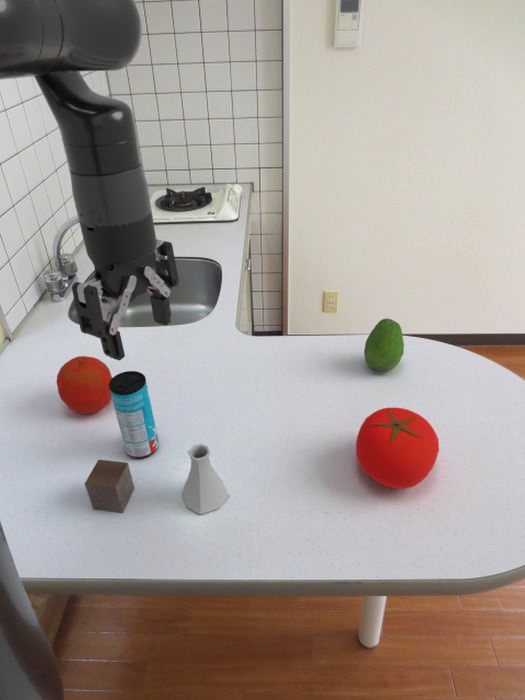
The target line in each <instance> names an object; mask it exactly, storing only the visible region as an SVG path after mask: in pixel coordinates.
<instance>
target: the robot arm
mask: <svg viewBox="0 0 525 700" xmlns="http://www.w3.org/2000/svg"><path fill="white" fill-rule="evenodd" d="M142 27H143V26H142V19H141V15H140V11H139V9H138V7H137V4H136V2H135V0H0V81H1V80H12V79H13V80H14V79H21V78H22V79H23V78H31V77H32V78H34V79H35V81H36V83H37V85H38V87H39V89H40V91H41V93H42V95H43V97H44V99H45V101H46V103H47V105H48V107H49V110H50V111H51V114H52V115H53V117H54V119H55V121H56V124H57V126H58V128H59V131H60V136H61V141H62V144H63V148H64V153H65V157H66V160H67V161H66V162H67V165H68V169H69V174H70V183H71V191H72V197H73V202H74V206H75V209H76V210H75V211H76V215H77V219H78V222H79V226H80V231H81V234H82V239H83V242H84V247H85V251H86V254H87V257H88V258H89V259H90V261H91V263H92V265H93V268H94V274H93V278H92V279H89V280H87V281H85V282H80V281H75V282H74V283H73V284H72V286H71V291H72V295H73V296H72V297H73V300H74V306H75V311H76V314H77V315H76V316H77V319H78V324H79V329H80V332H81V333H83V334H85V335H90V336H92V337H95V338H97V339H99V341H100V343H101V348H102V351H103V354H104V355H105V356H106V357H109V358H111V359H113V360H116V361H122V360H123V359H124V358H125V357H126V353H125V349H124V344H123V340H122V335H121V332H120V331H119V330H118V329H119V326H120V323H121V319H122V317H123V316H125V315H126V314H127V311H128V307H129V304H130V303H132V302H134V301H135V299H136V298H137V297H138V296H142V295H144V294H145V293H147V292H148V293H150V294H152V295H150V296H149V301H150V305H151V311H152V317H153V320H154V322H155V323H156V324H159V325H163V326H167V325H169V324H171V321H172V320H171V316H172V310H171V305H170V298H169V297H170V296H171V294H172V293H171V291H172V288H173V287H174V288H176V287H178V285H179V283H180V279H179V274H178V269H177V262H176V258H175V252H174V247H173V243H172V242H170V241H166V240H161V239H157V236H156V228H155V223H154V217H153V210H152V205H151V198H150V192H149V186H148V181H147V178H146V176H145V175H146V174H145V172H144V168H143V163H142V157H141V151H140V146H139V140H138V134H137V126H136V121H135V117H134V113H133V110H132V108H131V107H130V105H129V104H128V103H126V102H125V101H123V100H119V99H117V98H113V97H109V96H105V95H102V94H99V93H98V92H95V91H93V90H92V89H91V88H90V87H89V85H88V83H87V82H86V80H85V79H84V78H83V75H82V74H81V72H114V71H115V72H116V71H120V70H123V69H124V68H126V67H128V66H129V65H130V64H131V63H132V61H134V59H135V58H136V56H137V54H138V52H139V50H140V48H141V47H140V46H141V43H142V34H143V33H142V32H143V28H142ZM110 298H111V299H112V300H113V301H117V302H116V304H115V305H113V304H110V302H109V299H110ZM109 313H110V317H109V319H108V321H107V318H108V316H109ZM0 700H65V692H64V685H63V678H62V674H61V670H60V666H59V662H58V660H57V657H56V655H55V651H54V650H53V647H52V645H51V643H50V641H49V638H48V637H47V634H46V632H45V630H44V627H43V626H42V624H41V622H40V620H39V617H38V616H37V614H36V612H35V609H34V607H33V605H32V602H31V600H30V598H29V597H28V594H27V592H26V589H25V587H24V585H23V583H22V580H21V576H20V575H19V572H18V568H17V566H16V564H15V560H14V557H13V555H12V552H11V548H10V546H9V543H8V539H7V536H6V534H5V531H4V527H3V525H2V522H1V520H0Z"/></svg>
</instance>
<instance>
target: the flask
mask: <svg viewBox="0 0 525 700" xmlns="http://www.w3.org/2000/svg"><path fill="white" fill-rule="evenodd" d="M187 453H188V456H189V458H190V461H191V462H190V469H189V473H188V476H187V478H186V481H185V484H184V486H183V489H182V492H181V496H182V498H183V501H184V505H185V507H186V508H188V509H189V510H191V511H193V512H195V513H196V514H199V515H203V514H206V513H210V512H213V511H216V510H219V509H220V507H222V505H223V504H224V503H225V501H226V500H227V499H228V498H229V497H230V495H229V493H228V490H227V487H226V486H225V483H224V481H223V480H222V479H221V477H220V475H218V472H216V470H215V469H214V468H213V466H212V464H211V462H210V456H211V451H210V448H209V446H208V445H205V444H203V443H199V444H195V445H192V447H190V448H189V449H188V451H187Z"/></svg>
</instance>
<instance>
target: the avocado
mask: <svg viewBox="0 0 525 700" xmlns="http://www.w3.org/2000/svg"><path fill="white" fill-rule="evenodd" d="M404 350H405V343H404V337H403V331H402V327H401V325H400V324H399V322H397V321H395V320H393V319H391V318H389V317H388V318H382V319H381V320H379V321H378V322H377V324H376V325H375V326H374V327H373V329H372V330H371V331H370V333H369V335H368V337H367V338H366V340H365V345H364V351H363V355H364V359H365V362H366V364H367V365H368V366H369V367H370V368H372V369H374V370H375V371H378V372H390V371H391V370H394V369H395V368H396V367H397V366H398V365H399V364H400V362H401V360H402V358H403V355H404Z"/></svg>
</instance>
